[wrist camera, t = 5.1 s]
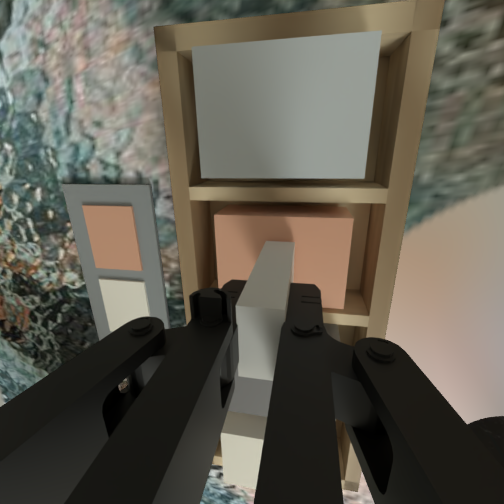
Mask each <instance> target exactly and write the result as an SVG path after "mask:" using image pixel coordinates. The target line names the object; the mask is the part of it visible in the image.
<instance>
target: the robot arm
mask: <svg viewBox="0 0 504 504" xmlns="http://www.w3.org/2000/svg"><path fill="white" fill-rule="evenodd" d="M294 253H295V242H281V241H266V242H265V244H264V246H263V248H262V250H261V252H260V255H259V257H258V259H257V261H256V263H255V265H254V267H253V270H252V272H251V274H250V276H249V278H248V280H234V279H232V280H230V281H228V282H227V283H225V284H224V285H223V287H222V288H204V289H200V290H197V291H195V292H193V293H192V294H190V295H189V302H190V312H191V320H190V321H189V323H188V324H187V326H185V327H180V328H170V329H165V327H164V323H163V321H162V320H161V319H159V318H157V317H151V316H145V317H139V318H137V319H133V320H131V321H129V322H127V323H125V324H124V325H122V326H121V327H119V328H118V329H116V330H115V331H113V332H112V333H110V334H109V335H107V336H106V337H104V338H103V339H101V340H100V341H98V342H97V343H95V344H94V345H92V346H91V347H89V348H88V349H86V350H85V351H83V352H82V353H80V354H79V355H77V356H76V357H74V358H73V359H71V360H70V361H68V362H67V363H65V364H64V365H62V366H61V367H59V368H58V369H56V370H55V371H53V372H52V373H50V374H49V375H47V376H46V377H45V378H43V379H42V380H40V381H39V382H37V383H36V384H34V385H33V386H31V387H30V388H28V389H27V390H25V391H24V392H22V393H21V394H19V395H18V396H16V397H15V398H13V399H12V400H10V401H9V402H7V403H6V404H4V405H3V406H1V407H0V504H200V501H201V498H202V494H203V491H204V488H205V484H206V481H207V478H208V475H209V471H210V468H211V465H212V462H213V458H214V455H215V452H216V448H217V445H218V442H219V439H220V435H221V432H222V429H223V425H224V422H225V419H226V416H227V412H228V409H229V406H230V403H231V399H232V396H233V393H234V389H235V372H236V369H237V366H238V376H240V377H248V378H255V379H263V380H270V381H273V384H272V390H271V397H270V403H269V409H268V416H267V422H266V428H265V435H264V441H263V447H262V454H261V460H260V466H259V473H258V479H257V486H256V492H255V498H254V504H343V493H342V483H341V473H340V462H339V452H338V442H337V431H336V421H335V419H337V420H340V421H342V422H344V423H345V428H346V431H347V434H348V436H349V439H350V441H351V444H352V446H353V449H354V452H355V454H356V457H357V459H358V462H359V464H360V467H361V469H362V472H363V475H364V477H365V480H366V482H367V485H368V487H369V490H370V492H371V495H372V498H373V500H374V503H375V504H504V468H503V467H502V466H501V465H500V463H499V462H498V461H497V460H496V459H495V457H494V456H493V455H492V454H491V453H490V451H489V450H488V449H487V448H486V447H485V446H484V444H483V443H482V442H481V441H480V440H479V438H478V437H477V436H476V435H475V434H474V432H473V431H472V430H471V429H470V428H469V426H468V425H467V424H466V423H465V422H464V421H463V419H462V418H461V417H460V416H459V415H458V414H457V412H456V411H455V410H454V409H453V407H451V405H450V404H449V403H448V402H447V400H446V399H445V398H444V397H443V396H442V394H441V393H440V392H439V391H438V390H437V389H436V387H435V386H434V385H433V384H432V382H431V381H430V380H429V379H428V378H427V376H426V375H425V374H424V373H423V372H422V371H421V369H420V368H419V367H418V366H417V365H416V363H415V362H414V361H413V360H412V359H411V357H410V356H409V355H408V354H407V353H406V352H405V351H404V350H403V349H402V348H401V347H399V346H398V345H397V344H395V343H393V342H391V341H388V340H385V339H382V338H375V337H367V338H362V339H360V340H359V341H357V342H356V343H355V346H351V345H347V344H344V343H342V342H339V341H337V340H335V339H334V338H332V337H331V336H330V335H329V334H327V331H326V329H325V326H324V324H323V312H322V300H321V290H320V289H319V288H318V287H317V286H316V285H315V284H305V283H293V279H294ZM125 378H127V382H128V385H127V386H126V387H125V388H124V389H122V390H121V391H119V388H118V385H119V384H120V383H121V382H122V381H123V380H124V379H125Z"/></svg>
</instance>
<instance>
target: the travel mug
mask: <svg viewBox="0 0 504 504" xmlns="http://www.w3.org/2000/svg"><path fill="white" fill-rule="evenodd" d="M468 426H469V428H470V429H471V430H472V431H473V432H474V434H475V435H476V436H477V437H478V438H479V440H480V441H481V442H482V443H483V444H484V446H485V447H486V448H487V449H488V450H489V451H490V453H491V454H492V455H493V456H494V457H495V459H496V460H497V461H498V462H499V463H500V465H501V466H502V467H503V468H504V416H499V417H489V418H484V419H480V420H477V421H474V422H472V423H470V424H468Z"/></svg>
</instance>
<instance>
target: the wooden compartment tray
mask: <svg viewBox="0 0 504 504" xmlns="http://www.w3.org/2000/svg"><path fill="white" fill-rule="evenodd" d="M444 1H445V0H410V1H400V2H390V3H381V4H371V5H361V6H351V7H342V8H332V9H322V10H312V11H303V12H293V13H283V14H273V15H264V16H254V17H244V18H234V19H225V20H215V21H205V22H195V23H186V24H176V25H166V26H156V27H154V35H155V44H156V53H157V62H158V71H159V80H160V89H161V98H162V107H163V116H164V125H165V134H166V143H167V152H168V161H169V170H170V179H171V188H172V197H173V206H174V215H175V224H176V233H177V242H178V251H179V260H180V269H181V278H182V286H183V295H184V304H185V313H186V322H187V324H188V323H189V321H190V320H191V312H190V302H189V295H190V294H192V293H193V292H195V291H197V290H200V289H204V288H218V272H217V256H216V240H215V224H214V214H216V213H217V212H219V211H220V210H222V209H223V208H224V207H226V206H227V205H229V204H234V205H285V206H336V207H346V208H347V209H348V211H349V212H350V214H351V215H352V217H353V218H354V221H353V230H352V239H351V248H350V257H349V266H348V274H347V283H346V292H345V301H344V309H335V308H323V307H322V312H323V323H330V324H338V330H339V336H340V342H342V343H344V344H347V345H351V346H355V343H356V342H357V341H359V340H360V339H362V338H367V337H375V338H382V339H385V335H386V330H387V324H388V318H389V313H390V307H391V301H392V296H393V289H394V284H395V278H396V272H397V267H398V262H399V255H400V250H401V244H402V239H403V233H404V228H405V222H406V216H407V211H408V205H409V199H410V194H411V188H412V182H413V177H414V171H415V165H416V160H417V154H418V148H419V143H420V137H421V131H422V126H423V120H424V114H425V109H426V103H427V97H428V92H429V86H430V80H431V75H432V69H433V63H434V58H435V52H436V46H437V41H438V35H439V29H440V24H441V18H442V12H443V7H444ZM380 30H382V34H381V43H380V51H379V59H378V68H377V76H376V85H375V93H374V102H373V110H372V118H371V127H370V135H369V144H368V152H367V161H366V169H365V177H364V179H315V178H201V167H200V154H199V141H198V127H197V114H196V101H195V87H194V74H193V60H192V47H194V46H206V45H218V44H229V43H241V42H252V41H264V40H275V39H287V38H299V37H310V36H322V35H333V34H345V33H356V32H368V31H380ZM336 431H337V442H338V452H339V462H340V473H341V483H342V489H344V490H350V491H355V492H358V488H359V482H360V477H361V471H362V469H361V467H360V464H359V462H358V459H357V457H356V454H355V452H354V449H353V446H352V444H351V441H350V439H349V436H348V434H347V431H346V428H345V423H344V422H342V421H340V420H337V419H336ZM212 464H215V465H220V466H223V462H222V448H221V435H220V439H219V442H218V445H217V448H216V452H215V455H214V458H213V462H212Z"/></svg>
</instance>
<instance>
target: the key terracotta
mask: <svg viewBox="0 0 504 504" xmlns="http://www.w3.org/2000/svg"><path fill="white" fill-rule="evenodd" d="M353 221H354V218H353V217H352V215H351V214H350V212H349V211H348V209H347V208H346V207H336V206H285V205H234V204H229V205H227V206H226V207H224V208H223V209H222V210H220V211H219V212H217V213H216V214H214V224H215V240H216V256H217V272H218V288H222V287H223V285H224V284H225V283H227V282H228V281H230V280H232V279H234V280H248V278H249V276H250V274H251V272H252V270H253V267H254V265H255V263H256V261H257V259H258V257H259V255H260V252H261V250H262V248H263V246H264V244H265V242H266V241H281V242H295V253H294V279H293V283H305V284H315V285H316V286H317V287H318V288H319V289H320V290H321V300H322V307H323V308H335V309H344V301H345V292H346V283H347V274H348V266H349V257H350V248H351V239H352V230H353Z"/></svg>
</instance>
